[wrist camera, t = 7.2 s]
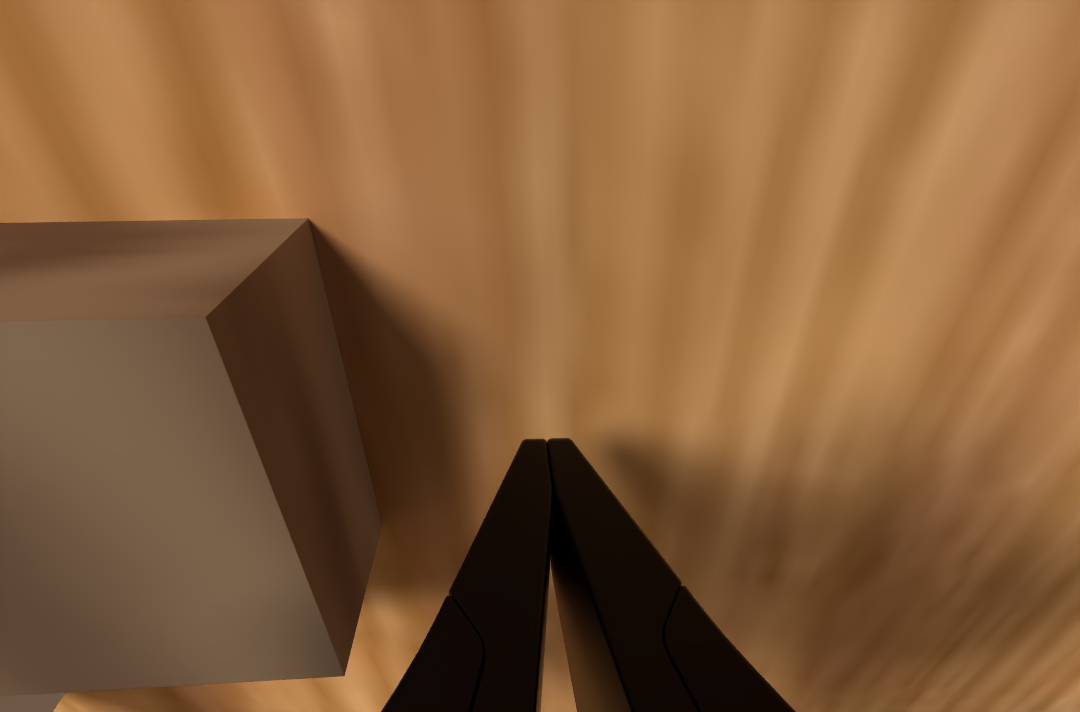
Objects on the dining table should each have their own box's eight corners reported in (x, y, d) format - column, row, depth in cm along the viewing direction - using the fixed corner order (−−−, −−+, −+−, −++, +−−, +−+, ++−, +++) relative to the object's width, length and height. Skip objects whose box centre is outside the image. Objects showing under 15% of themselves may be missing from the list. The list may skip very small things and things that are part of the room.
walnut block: (314, 212, 9) (205, 317, 6) (384, 515, 14) (344, 675, 10) (-287, 221, 9) (-784, 340, 5) (-18, 532, 13) (-200, 708, 10)
